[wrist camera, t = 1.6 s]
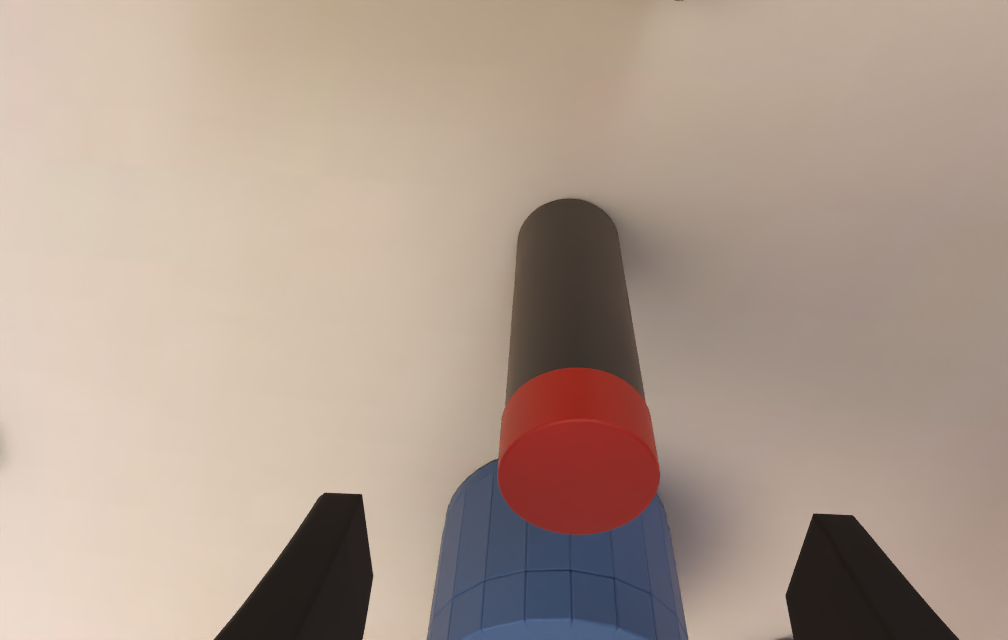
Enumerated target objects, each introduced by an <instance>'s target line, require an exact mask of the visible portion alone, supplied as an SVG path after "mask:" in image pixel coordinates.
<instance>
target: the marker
mask: <svg viewBox="0 0 1008 640" xmlns="http://www.w3.org/2000/svg"><path fill="white" fill-rule="evenodd" d="M497 478H498V485H499V489H500V492H501V494H502V496H503V498H504V500H505V501H506V503H507V504H508V506H509V507H510V508H511V509H512V510H513V511H514V512H515V513H516V514H517V515H518V516H520V517H521V518H522V519H524V520H525V521H527V522H529V523H531V524H533V525H535V526H537V527H539V528H542V529H544V530H548V531H552V532H556V533H561V534H570V535H586V534H595V533H601V532H605V531H609V530H612V529H615V528H618V527H620V526H622V525H624V524H626V523H628V522H630V521H632V520H633V519H635V518H636V517H638V516H639V515H640V514H641V513H642V512H643V511H644V510H645V509H646V508H647V507H648V506H649V505H650V503H651V502H652V500H653V499H654V496H655V494H656V492H657V490H658V486H659V481H660V470H659V463H658V457H657V451H656V445H655V439H654V433H653V427H652V421H651V416H650V412H649V409H648V407H647V405H646V402H645V396H644V389H643V383H642V377H641V371H640V365H639V359H638V353H637V347H636V341H635V335H634V329H633V323H632V317H631V311H630V305H629V298H628V292H627V286H626V280H625V274H624V268H623V262H622V256H621V250H620V244H619V238H618V233H617V230H616V227H615V225H614V223H613V222H612V220H611V219H610V217H609V216H608V215H607V214H606V213H605V212H604V211H603V210H601V209H600V208H598V207H597V206H595V205H593V204H591V203H588V202H585V201H581V200H576V199H563V200H557V201H553V202H550V203H547V204H545V205H543V206H541V207H540V208H538V209H537V210H535V211H534V212H533V213H532V214H531V215H530V216H529V217H528V218H527V219H526V221H525V222H524V224H523V225H522V227H521V230H520V232H519V236H518V243H517V257H516V270H515V283H514V297H513V310H512V323H511V337H510V350H509V363H508V377H507V390H506V403H505V409H504V412H503V416H502V423H501V435H500V448H499V460H498V473H497Z"/></svg>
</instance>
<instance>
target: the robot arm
mask: <svg viewBox="0 0 1008 640" xmlns="http://www.w3.org/2000/svg"><path fill="white" fill-rule="evenodd" d="M372 580H373V571H372V564H371V557H370V550H369V542H368V535H367V528H366V520H365V513H364V506H363V499H362V494H341V493H324V494H323V495H321V496H320V497H319V498H318V499H317V501H316V503H315V504H314V506H313V507H312V509H311V510H310V512H309V514H308V515H307V517H306V518H305V520H304V521H303V523H302V524H301V526H300V527H299V529H298V530H297V532H296V533H295V534H294V536H293V537H292V539H291V540H290V542H289V543H288V545H287V546H286V547H285V549H284V550H283V552H282V553H281V554H280V556H279V557H278V559H277V560H276V561H275V563H274V564H273V565H272V567H271V568H270V569H269V571H268V572H267V573H266V575H265V576H264V577H263V579H262V580H261V581H260V583H259V584H258V585H257V587H256V588H255V589H254V591H253V592H252V593H251V594H250V596H249V597H248V598H247V600H246V601H245V602H244V604H243V605H242V606H241V607H240V609H239V610H238V611H237V612H236V614H235V615H234V616H233V617H232V619H231V620H230V621H229V622H228V623H227V624H226V626H225V627H224V628H223V629H222V630H221V632H220V633H219V634H218V635H217V636H216V638H215V639H214V640H362V639H363V634H364V628H365V623H366V617H367V611H368V605H369V599H370V593H371V587H372ZM786 601H787V606H788V611H789V617H790V622H791V628H792V633H793V637H794V640H959V639H958V638H957V637H956V636H955V634H954V633H953V632H952V631H951V630H950V629H949V628H948V627H947V625H946V624H945V623H944V622H943V621H942V620H941V619H940V618H939V616H938V615H937V614H936V613H935V612H934V611H933V610H932V609H931V607H930V606H929V605H928V604H927V603H926V602H925V600H924V599H923V598H922V597H921V596H920V595H919V593H918V592H917V591H916V590H915V589H914V588H913V586H912V585H911V584H910V583H909V582H908V580H907V579H906V578H905V577H904V576H903V575H902V573H901V572H900V571H899V570H898V569H897V567H896V566H895V565H894V564H893V563H892V561H891V560H890V559H889V558H888V557H887V555H886V554H885V553H884V552H883V551H882V549H881V548H880V547H879V546H878V545H877V543H876V542H875V541H874V540H873V538H872V537H871V536H870V535H869V534H868V532H867V531H866V530H865V529H864V528H863V527H862V525H861V524H860V523H859V522H858V521H857V520H856V518H855V517H854V516H853V515H834V514H813V517H812V520H811V522H810V525H809V528H808V531H807V534H806V537H805V540H804V543H803V546H802V549H801V552H800V555H799V558H798V560H797V563H796V566H795V569H794V572H793V575H792V578H791V581H790V584H789V587H788V590H787V593H786Z"/></svg>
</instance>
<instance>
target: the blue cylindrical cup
mask: <svg viewBox="0 0 1008 640" xmlns="http://www.w3.org/2000/svg"><path fill="white" fill-rule="evenodd" d="M498 460H499V459H498ZM498 460H496V461H494V462H491V463H489V464H487V465H486V466H484V467H482V468H481V469H479V470H477V471H476V472H475V473H473V474H472V475H471V476H470V477H468V478H467V479H466V480H465V481H464V482H463V484H462V485H461V486H460V487H459V488H458V490H457V491H456V492H455V494H454V495H453V497H452V499H451V502H450V504H449V506H448V510H447V514H446V520H445V527H444V530H443V535H442V541H441V548H440V555H439V561H438V568H437V575H436V582H435V588H434V595H433V602H432V608H431V615H430V622H429V628H428V635H427V640H688V634H687V628H686V622H685V617H684V611H683V605H682V599H681V593H680V587H679V581H678V575H677V569H676V563H675V557H674V552H673V546H672V540H671V534H670V528H669V526H668V523H667V517H666V513H665V510H664V507H663V504H662V502H661V500H660V499H659V497H658V495H657V494H655V496H654V499H653V500H652V502H651V503H650V505H649V506H648V507H647V508H646V509H645V510H644V511H643V512H642V513H641V514H640V515H639V516H638V517H636V518H635V519H633V520H632V521H630V522H628V523H626V524H624V525H622V526H620V527H618V528H615V529H612V530H609V531H605V532H601V533H595V534H586V535H570V534H561V533H556V532H552V531H548V530H544V529H542V528H539V527H537V526H535V525H533V524H531V523H529V522H527V521H525V520H524V519H522V518H521V517H520V516H518V515H517V514H516V513H515V512H514V511H513V510H512V509H511V508H510V507H509V506H508V504H507V503H506V501H505V500H504V498H503V496H502V494H501V492H500V489H499V485H498V478H497V473H498Z"/></svg>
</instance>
